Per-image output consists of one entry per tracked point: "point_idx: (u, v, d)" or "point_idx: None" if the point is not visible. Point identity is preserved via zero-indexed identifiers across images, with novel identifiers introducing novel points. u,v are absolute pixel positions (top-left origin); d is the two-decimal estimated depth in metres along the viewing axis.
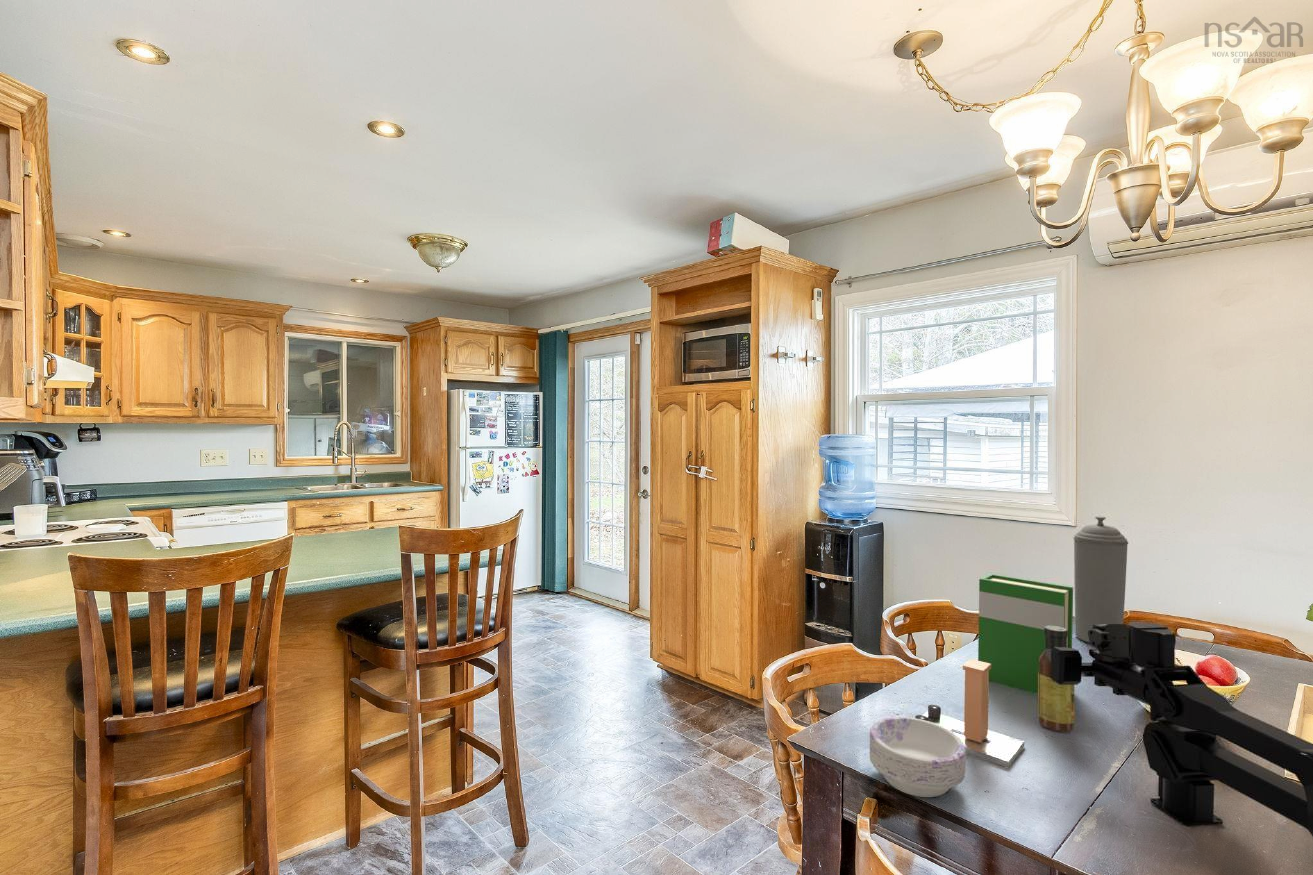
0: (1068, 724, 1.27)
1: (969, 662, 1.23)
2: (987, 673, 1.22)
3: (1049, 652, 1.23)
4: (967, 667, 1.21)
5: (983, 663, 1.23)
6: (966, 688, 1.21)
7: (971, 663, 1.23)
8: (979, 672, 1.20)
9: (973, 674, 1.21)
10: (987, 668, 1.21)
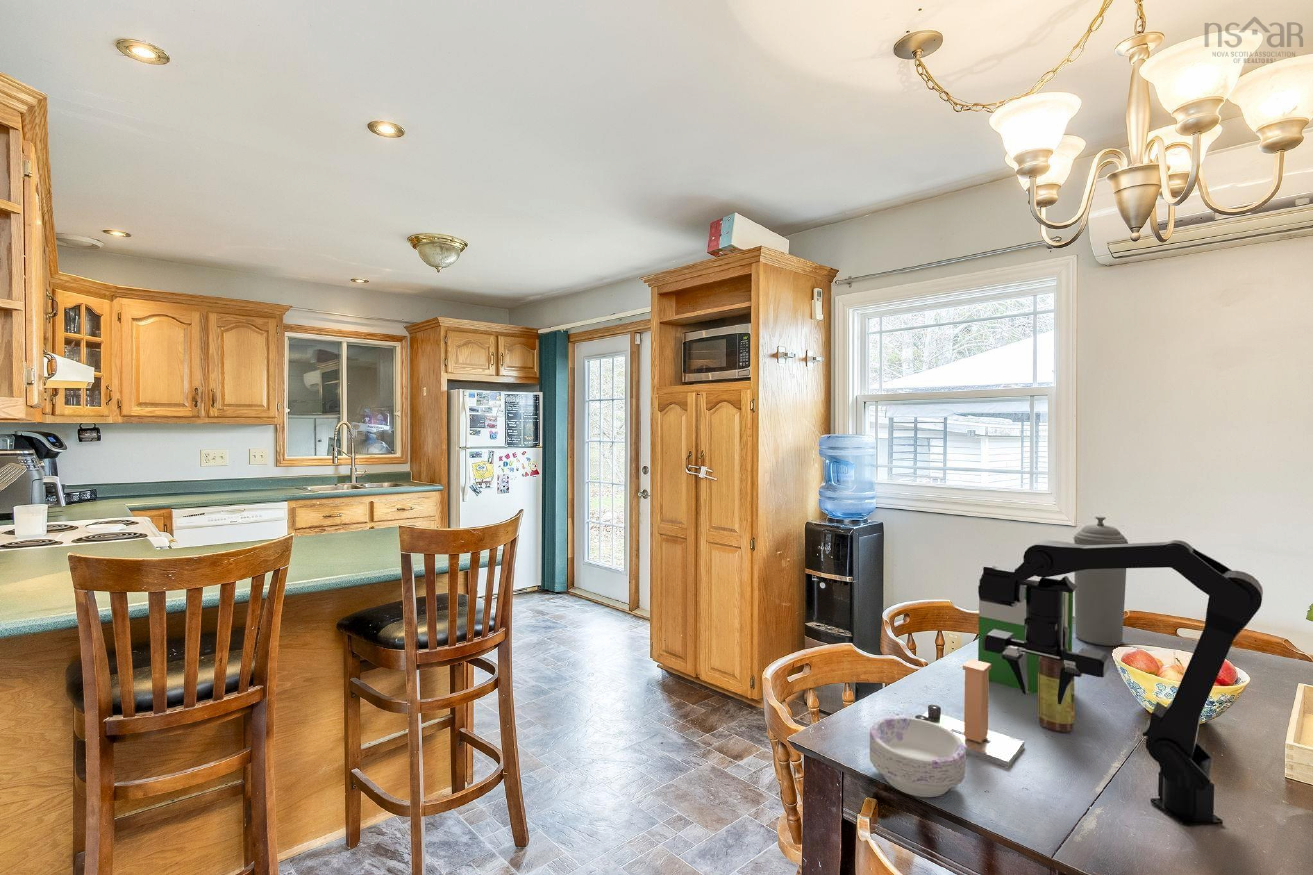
0: (1068, 724, 1.27)
1: (969, 662, 1.23)
2: (987, 673, 1.22)
3: None
4: (967, 667, 1.21)
5: (983, 663, 1.23)
6: (966, 688, 1.21)
7: (971, 663, 1.23)
8: (979, 672, 1.20)
9: (973, 674, 1.21)
10: (987, 668, 1.21)
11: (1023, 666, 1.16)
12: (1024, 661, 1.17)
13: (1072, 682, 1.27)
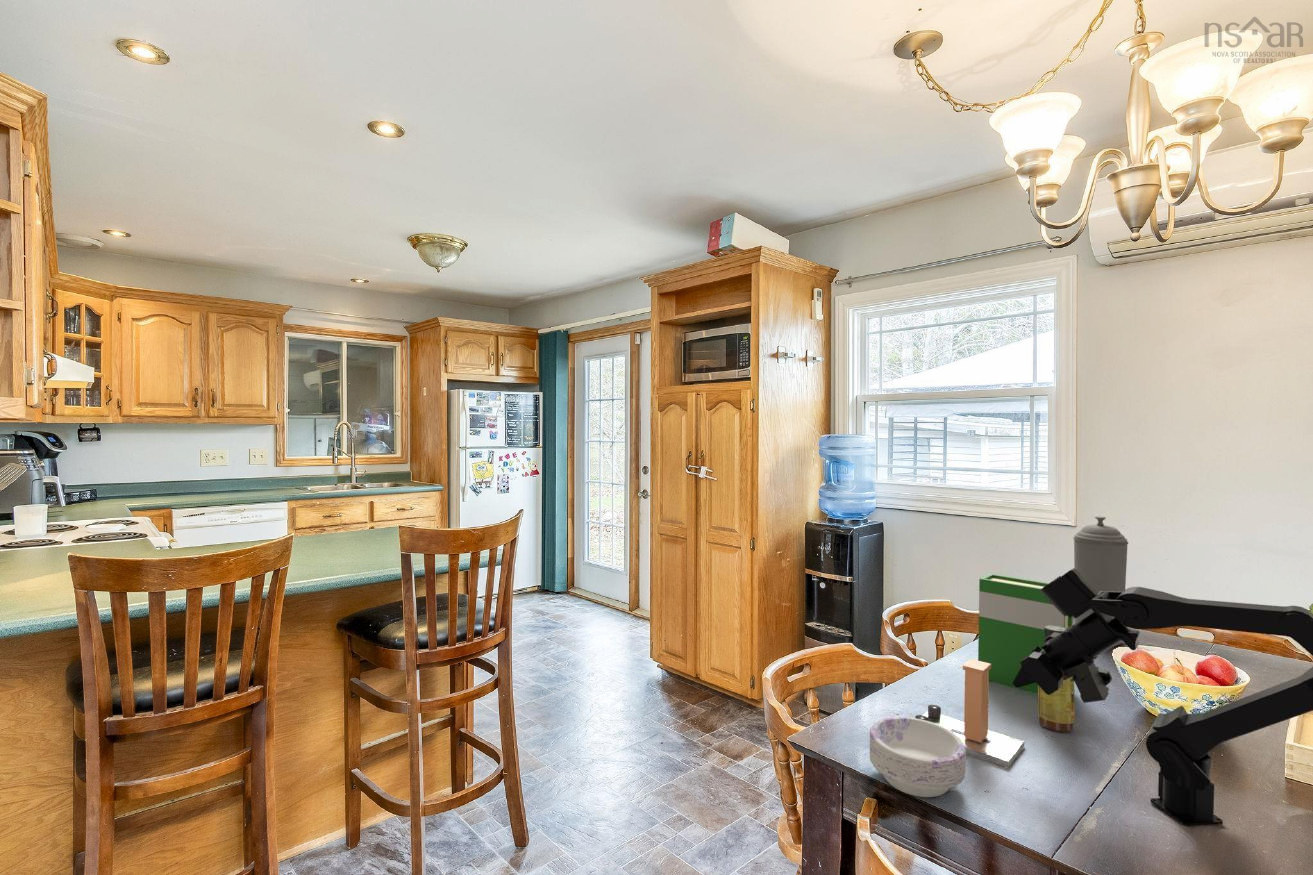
0: (1068, 724, 1.27)
1: (969, 662, 1.23)
2: (987, 673, 1.22)
3: None
4: (967, 667, 1.21)
5: (983, 663, 1.23)
6: (966, 688, 1.21)
7: (971, 663, 1.23)
8: (979, 672, 1.20)
9: (973, 674, 1.21)
10: (987, 668, 1.21)
11: None
12: None
13: (1072, 682, 1.27)
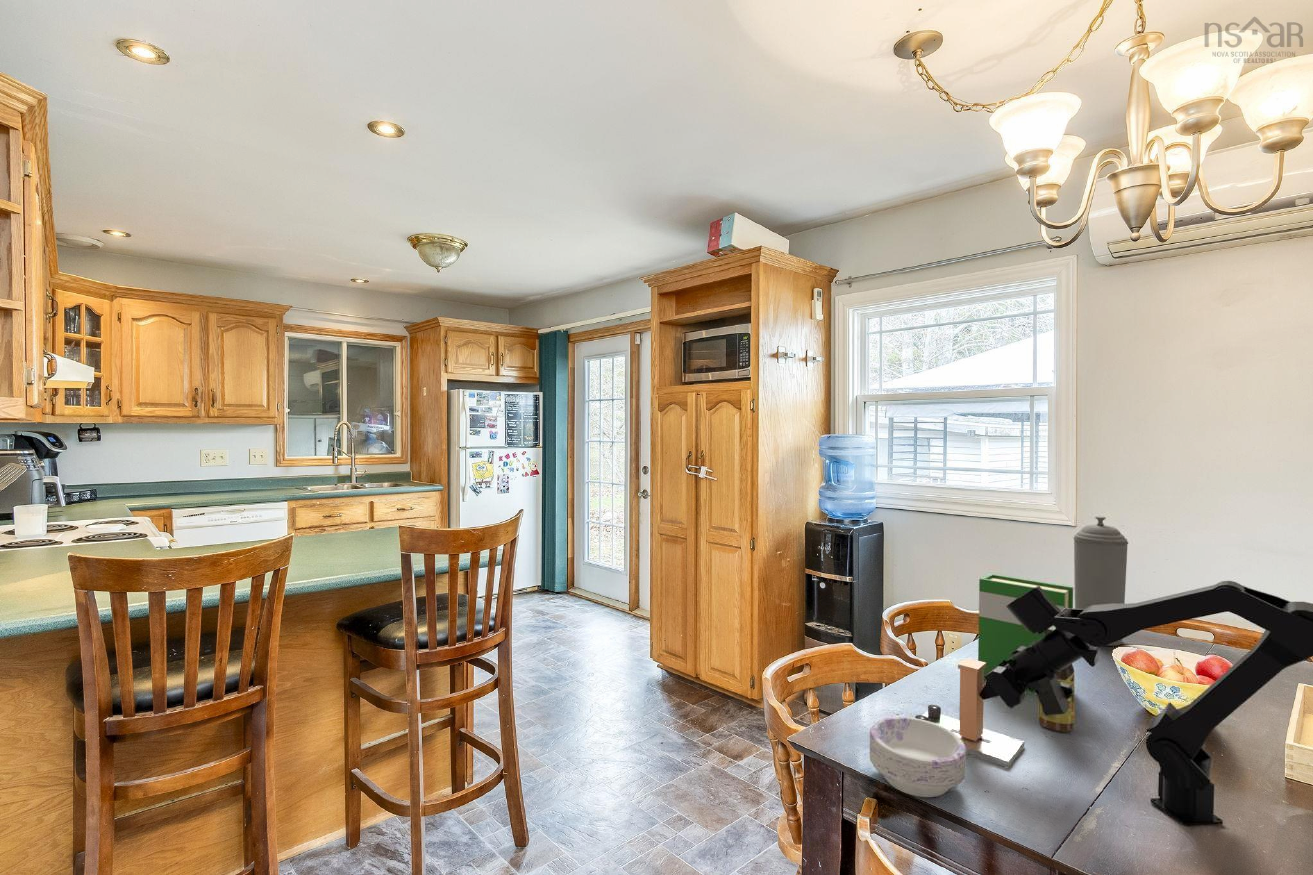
0: (1068, 724, 1.27)
1: (964, 661, 1.24)
2: (982, 672, 1.22)
3: None
4: (962, 666, 1.22)
5: (978, 662, 1.23)
6: (961, 687, 1.22)
7: (966, 662, 1.23)
8: (974, 671, 1.20)
9: (968, 673, 1.21)
10: (982, 667, 1.21)
11: None
12: None
13: (1072, 682, 1.27)
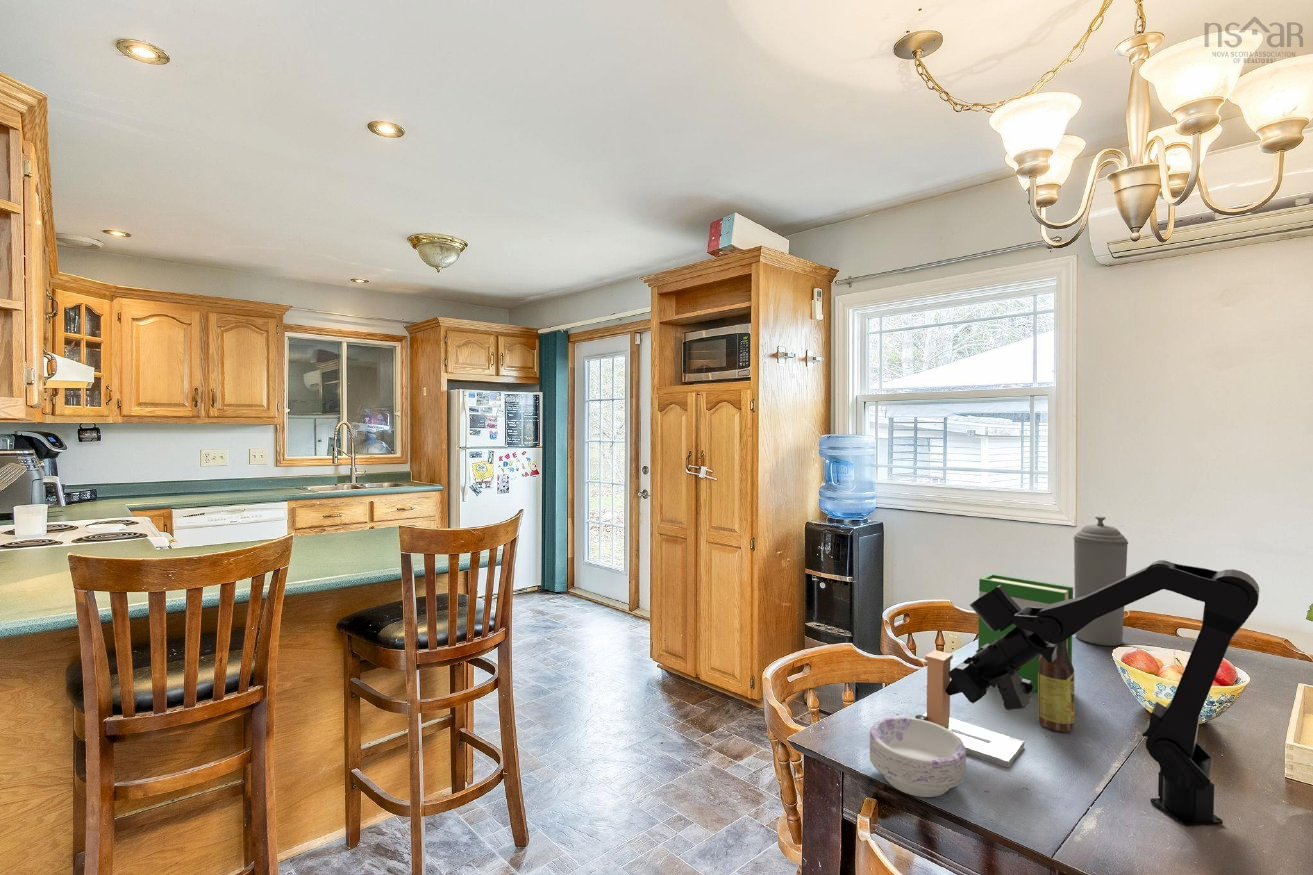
0: (1068, 724, 1.27)
1: (932, 653, 1.28)
2: (949, 663, 1.27)
3: None
4: (929, 657, 1.26)
5: (945, 654, 1.27)
6: (928, 678, 1.26)
7: (933, 654, 1.27)
8: (940, 662, 1.24)
9: (934, 664, 1.25)
10: (948, 658, 1.26)
11: None
12: None
13: (1072, 682, 1.27)
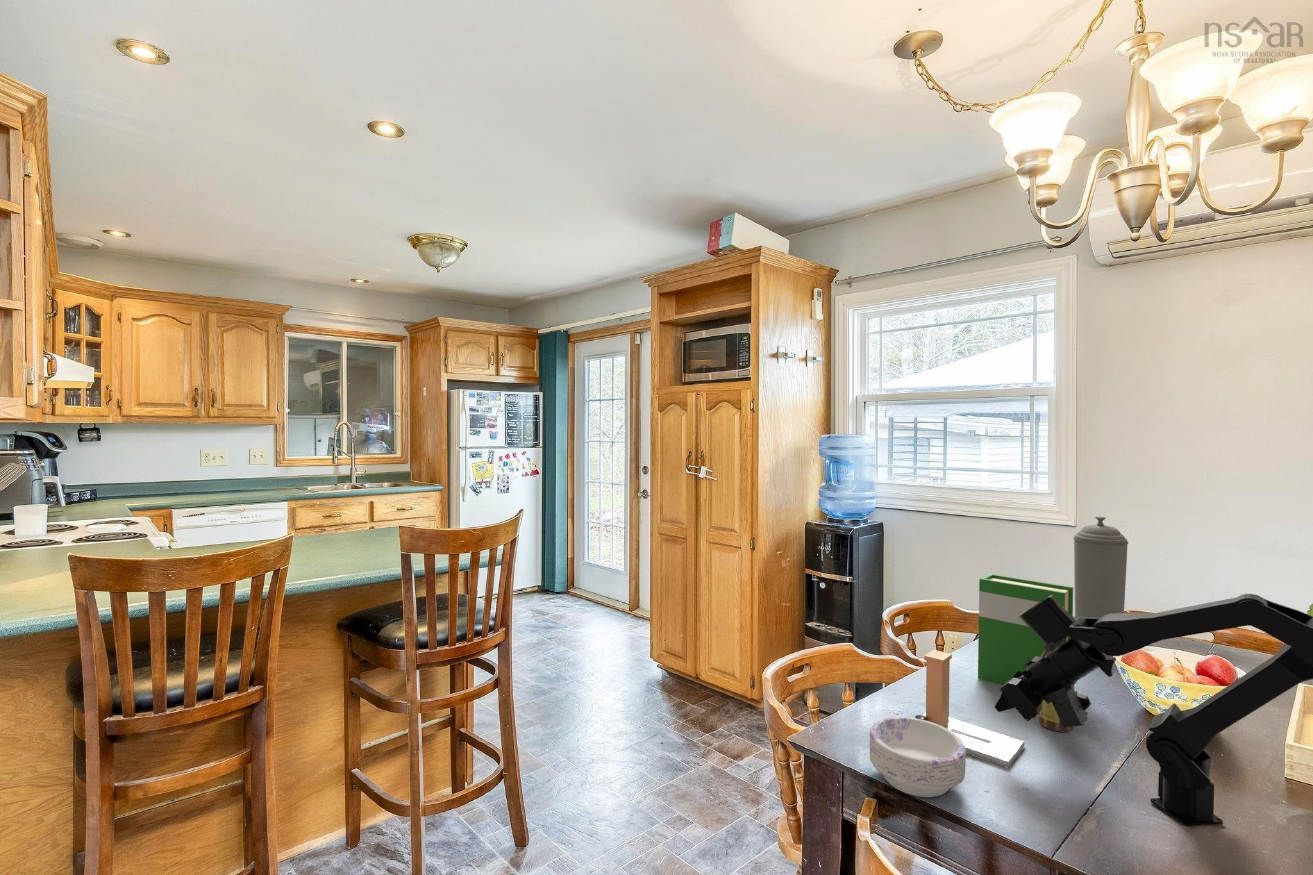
0: None
1: (931, 652, 1.28)
2: (948, 663, 1.27)
3: None
4: (928, 657, 1.26)
5: (944, 653, 1.28)
6: (927, 677, 1.26)
7: (933, 653, 1.28)
8: (939, 662, 1.25)
9: (934, 664, 1.26)
10: (947, 658, 1.26)
11: None
12: None
13: None
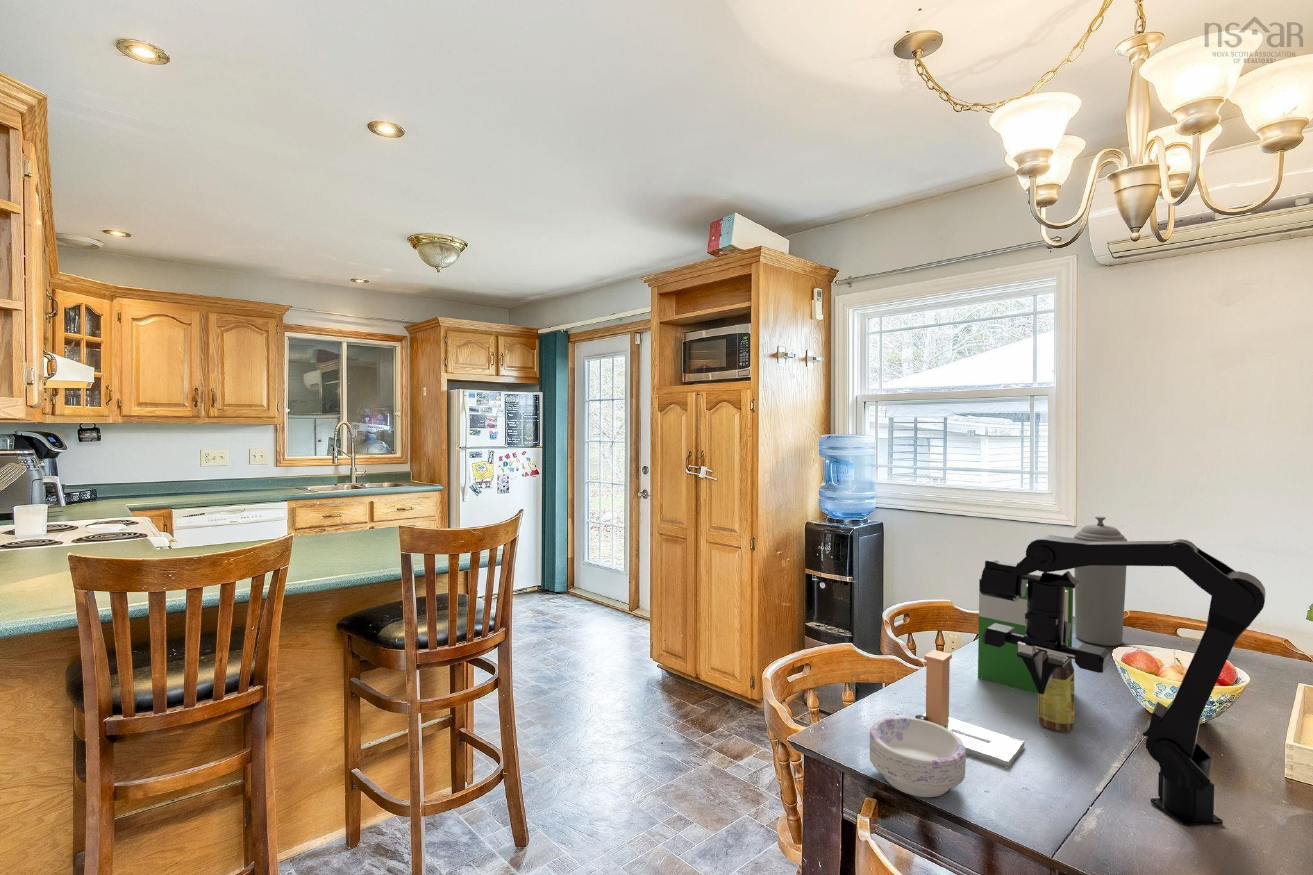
0: (1068, 724, 1.27)
1: (931, 652, 1.28)
2: (948, 663, 1.27)
3: None
4: (928, 657, 1.26)
5: (944, 653, 1.28)
6: (927, 677, 1.26)
7: (933, 653, 1.28)
8: (939, 662, 1.25)
9: (934, 664, 1.26)
10: (947, 658, 1.26)
11: (1038, 664, 1.14)
12: (1040, 659, 1.15)
13: (1072, 682, 1.27)
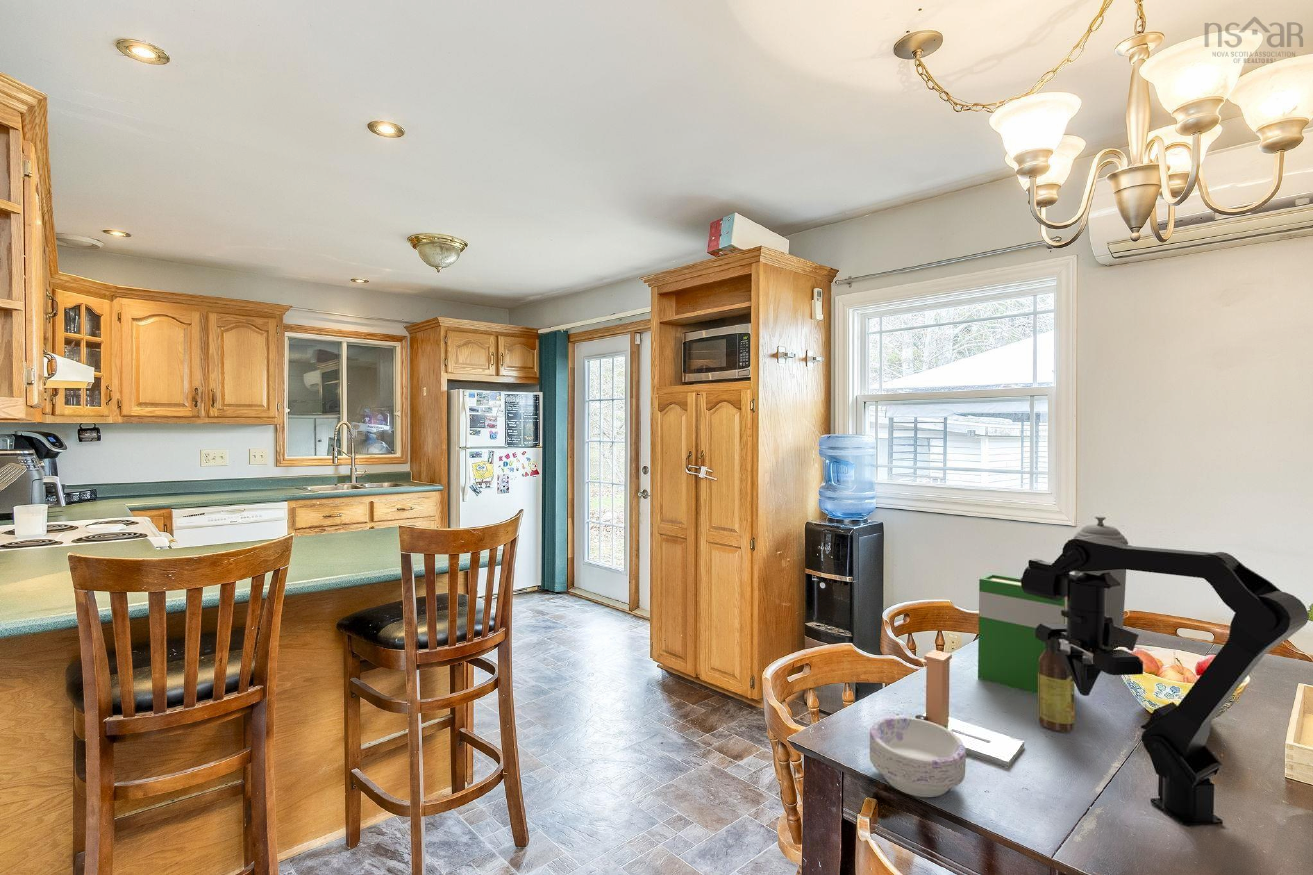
0: (1068, 724, 1.27)
1: (931, 652, 1.28)
2: (948, 663, 1.27)
3: None
4: (928, 657, 1.26)
5: (944, 653, 1.28)
6: (927, 677, 1.26)
7: (933, 653, 1.28)
8: (939, 662, 1.25)
9: (934, 664, 1.26)
10: (947, 658, 1.26)
11: None
12: None
13: (1072, 682, 1.27)
